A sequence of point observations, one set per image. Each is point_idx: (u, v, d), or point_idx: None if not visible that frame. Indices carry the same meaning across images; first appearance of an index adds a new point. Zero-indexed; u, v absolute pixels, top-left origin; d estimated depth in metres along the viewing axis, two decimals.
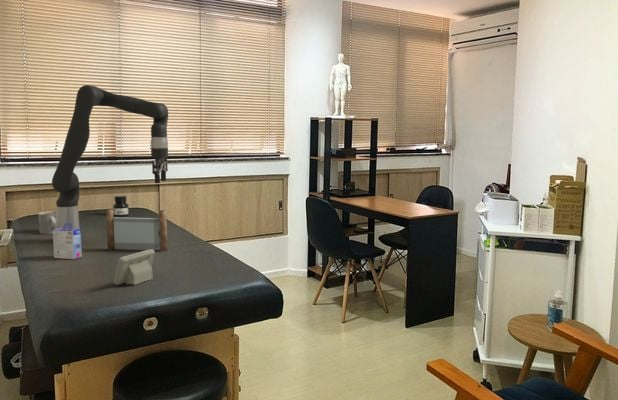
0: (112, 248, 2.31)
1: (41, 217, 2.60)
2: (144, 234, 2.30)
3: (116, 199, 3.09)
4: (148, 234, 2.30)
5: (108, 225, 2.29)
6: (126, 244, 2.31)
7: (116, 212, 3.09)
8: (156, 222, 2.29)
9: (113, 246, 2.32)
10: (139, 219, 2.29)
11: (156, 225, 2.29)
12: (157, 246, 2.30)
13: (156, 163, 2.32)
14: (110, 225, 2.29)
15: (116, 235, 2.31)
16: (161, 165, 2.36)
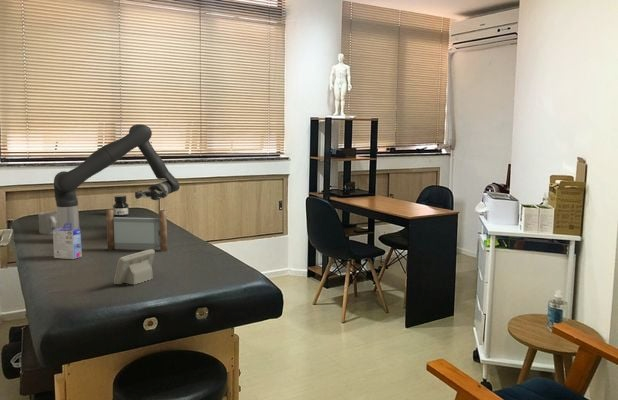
0: (112, 248, 2.31)
1: (41, 217, 2.60)
2: (144, 234, 2.30)
3: (116, 199, 3.09)
4: (148, 234, 2.30)
5: (108, 225, 2.29)
6: (126, 244, 2.31)
7: (116, 212, 3.09)
8: (156, 222, 2.29)
9: (113, 246, 2.32)
10: (139, 219, 2.29)
11: (156, 225, 2.29)
12: (157, 246, 2.30)
13: (166, 195, 2.50)
14: (110, 225, 2.29)
15: (116, 235, 2.31)
16: None
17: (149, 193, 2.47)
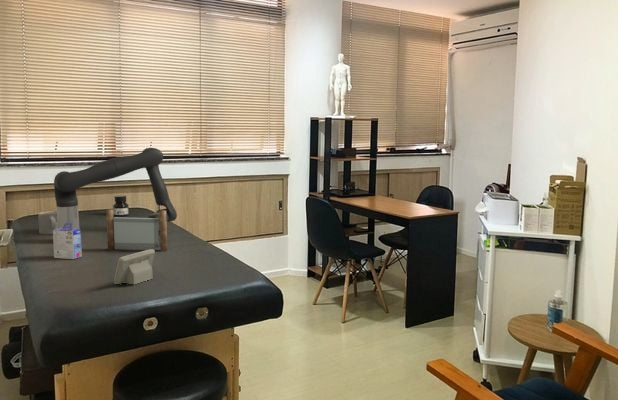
0: (112, 248, 2.31)
1: (41, 217, 2.60)
2: (144, 234, 2.30)
3: (116, 199, 3.09)
4: (148, 234, 2.30)
5: (108, 225, 2.29)
6: (126, 244, 2.31)
7: (116, 212, 3.09)
8: (156, 222, 2.29)
9: (113, 246, 2.32)
10: (139, 219, 2.29)
11: (156, 225, 2.29)
12: (157, 246, 2.30)
13: None
14: (110, 225, 2.29)
15: (116, 235, 2.31)
16: None
17: None
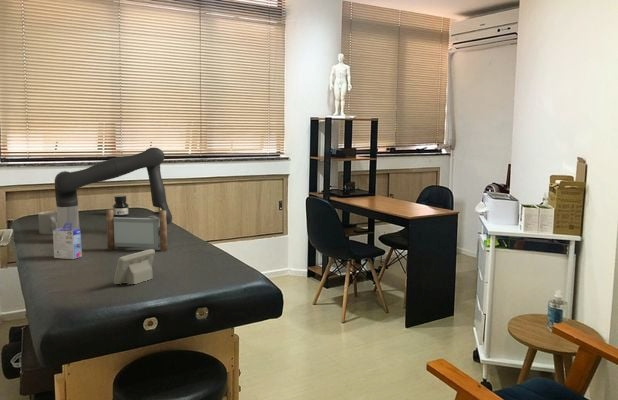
0: (112, 248, 2.31)
1: (41, 217, 2.60)
2: (143, 234, 2.30)
3: (116, 199, 3.09)
4: (147, 234, 2.29)
5: (108, 225, 2.29)
6: (126, 244, 2.31)
7: (116, 212, 3.09)
8: (155, 222, 2.28)
9: (113, 246, 2.32)
10: (139, 219, 2.28)
11: (155, 225, 2.28)
12: (156, 246, 2.30)
13: None
14: (110, 225, 2.29)
15: (116, 235, 2.31)
16: None
17: None
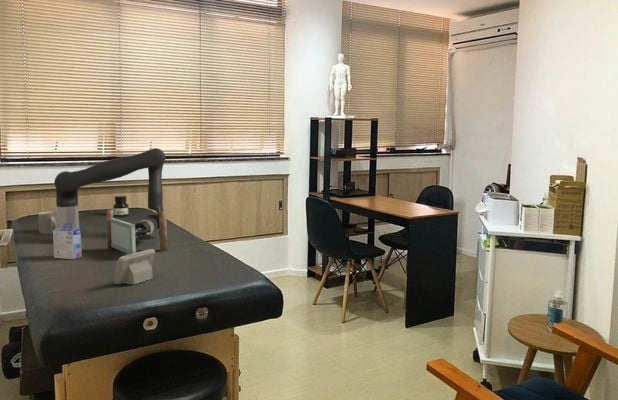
0: (112, 248, 2.31)
1: (41, 217, 2.60)
2: (125, 239, 2.20)
3: (116, 199, 3.09)
4: (127, 240, 2.19)
5: (108, 225, 2.29)
6: (116, 246, 2.26)
7: (116, 212, 3.09)
8: (130, 228, 2.15)
9: None
10: (122, 223, 2.20)
11: (130, 231, 2.15)
12: None
13: (148, 235, 2.29)
14: (110, 225, 2.29)
15: (112, 236, 2.29)
16: None
17: (138, 231, 2.29)
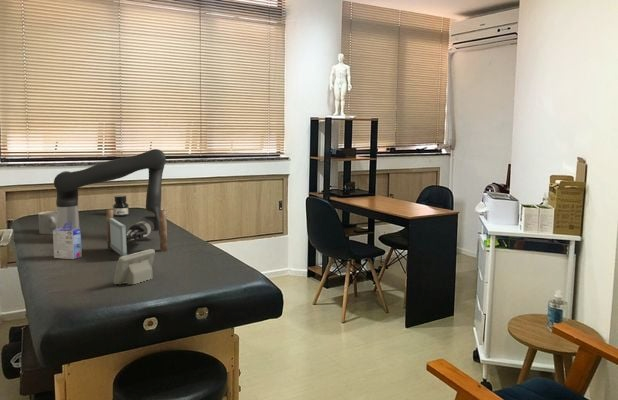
0: None
1: (41, 217, 2.60)
2: (118, 240, 2.18)
3: (116, 199, 3.09)
4: (119, 241, 2.17)
5: (108, 225, 2.29)
6: (113, 247, 2.26)
7: (116, 212, 3.09)
8: (121, 229, 2.13)
9: None
10: (116, 223, 2.19)
11: (121, 233, 2.13)
12: (122, 255, 2.14)
13: (144, 237, 2.24)
14: None
15: (110, 236, 2.29)
16: None
17: (135, 234, 2.25)
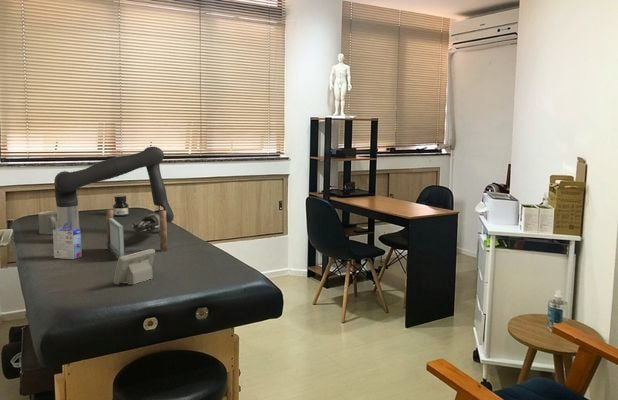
0: None
1: (41, 217, 2.60)
2: (116, 240, 2.18)
3: (116, 199, 3.09)
4: (117, 241, 2.16)
5: (108, 225, 2.29)
6: (112, 247, 2.25)
7: (116, 212, 3.09)
8: (118, 230, 2.12)
9: None
10: (114, 224, 2.18)
11: (118, 233, 2.12)
12: (119, 255, 2.14)
13: (156, 228, 2.40)
14: None
15: (110, 236, 2.29)
16: (148, 229, 2.41)
17: (147, 225, 2.41)
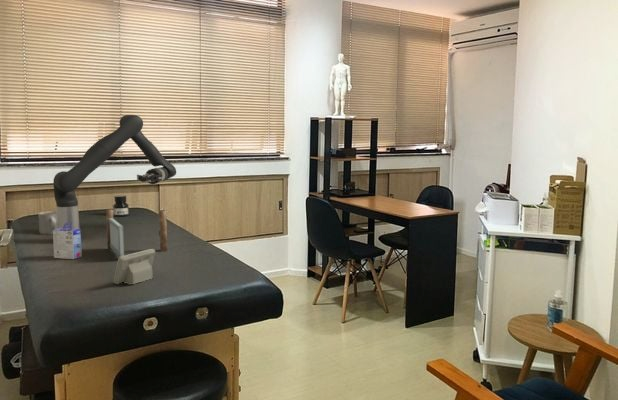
0: None
1: (41, 217, 2.60)
2: (116, 240, 2.18)
3: (116, 199, 3.09)
4: (117, 241, 2.16)
5: (108, 225, 2.29)
6: (112, 247, 2.25)
7: (116, 212, 3.09)
8: (118, 230, 2.12)
9: None
10: (114, 224, 2.18)
11: (118, 233, 2.12)
12: (119, 255, 2.14)
13: (160, 179, 2.50)
14: None
15: (110, 236, 2.29)
16: (152, 181, 2.51)
17: None
